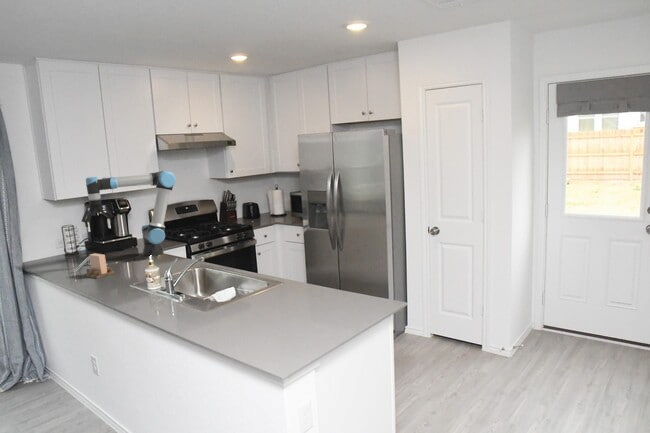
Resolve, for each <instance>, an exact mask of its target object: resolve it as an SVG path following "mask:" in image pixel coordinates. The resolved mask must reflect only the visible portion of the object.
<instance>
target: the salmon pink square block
mask: <svg viewBox="0 0 650 433" xmlns="http://www.w3.org/2000/svg"><path fill="white" fill-rule="evenodd" d="M88 257H90V263H91V265H90V269H92V270H97V271H101V274H104V273H107V267H108V266H107V260H106V255H105V254H102V253H95V252H94V253H92V254H88Z"/></svg>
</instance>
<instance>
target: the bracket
mask: <svg viewBox="0 0 650 433" xmlns="http://www.w3.org/2000/svg"><path fill="white" fill-rule="evenodd" d="M86 263H87V265H88V266H91V263H90V257H89V256H87V257H86V258H85V259H84V260H83V261H82V262H81V263H80V264H78V266H77V265H76V268H74V269H73V270H72V273H73V274H76V273H77V272H78V270H80V269H81V268H82V267H83V266H84V265H85V264H86Z"/></svg>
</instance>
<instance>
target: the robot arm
mask: <svg viewBox="0 0 650 433" xmlns="http://www.w3.org/2000/svg"><path fill="white" fill-rule="evenodd" d="M176 182H177V179H176V175H175V174H174V173H173V172H171V171H169V170H160V171H156V172H150V173H148V174H142V175H141V174H139V175H129V176H116V177H113V176H112V177H102V178H100V179H99V178H98V176H90V177H89V176H88V177H86V178H85V183H86V184H85V186H86V190H87V197H88V203H89V207H85V208H84V213H83V215H82V218H81V222H82V223H84V225H85V227H86V228H87V232H88V233H90V232H91V227H90V222H89V221H90V219H91V218H92V216H93V215H94V214H97V213H98V214H100V213H101V214H102V215H103V216H105V217H106V218H107V219H106V220H107V221H106V222H107V227H108V229H112V228H111V227H112V226H111V224H112V218H114V215H113V214H112V212H111V211H110V209H109V208H108V205H106V204H104V205H102V199H101V198H102V197H101V191H104V190H105V191H106V190H115V189H116V190H117V189H119V188H125V187H127V188H128V187H137V186H138V187H139V186H148V185H150V186H151V187H153V186H154V187H155V189H156V190H157V191H156V198H155V201H154V206H153V213H152V217H151V222H149V223H148V224H146V225H145V224H144V225H142V226H141V234H142V241H143V249H142V256H143V257H150V256H149V255H153V256H152V257H154V256H158V255H162V254H163V253H165V252H164V248H163V246H162V244H161V243H163V241H165V238H166V233H165V230H166V226H165V218H166V213H167V208H168V203H169V197H170V193H171V192H173V188H174V186H175V185H176ZM103 209H104V210H105V211H104V210H103ZM89 211H90V212H89Z"/></svg>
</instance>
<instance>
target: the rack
mask: <svg viewBox="0 0 650 433" xmlns="http://www.w3.org/2000/svg"><path fill="white" fill-rule="evenodd" d="M115 272H116V271H115V270H113V268H112V267H108V266H107V273H104V274H101V271H97V270H92V269H91V268H87V269H86V273H84V276H85V277H89V278H92V279H93V278H94V279H101V278H104V277H107V275H108V276H110V275H114V274H115ZM100 277H101V278H100Z"/></svg>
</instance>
